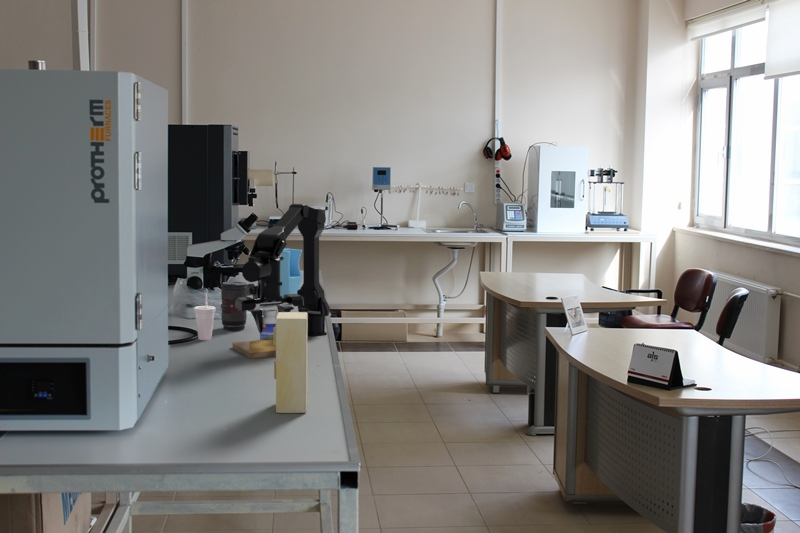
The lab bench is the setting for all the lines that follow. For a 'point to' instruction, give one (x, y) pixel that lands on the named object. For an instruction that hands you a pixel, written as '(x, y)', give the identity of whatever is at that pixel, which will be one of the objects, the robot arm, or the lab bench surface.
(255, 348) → the shelf board
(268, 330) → the pill bottle
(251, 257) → the robot arm
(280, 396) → the toy refrigerator
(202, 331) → the smoothie
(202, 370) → the lab bench surface
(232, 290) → the camera lens
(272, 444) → the lab bench surface
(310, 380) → the lab bench surface
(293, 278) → the vase
